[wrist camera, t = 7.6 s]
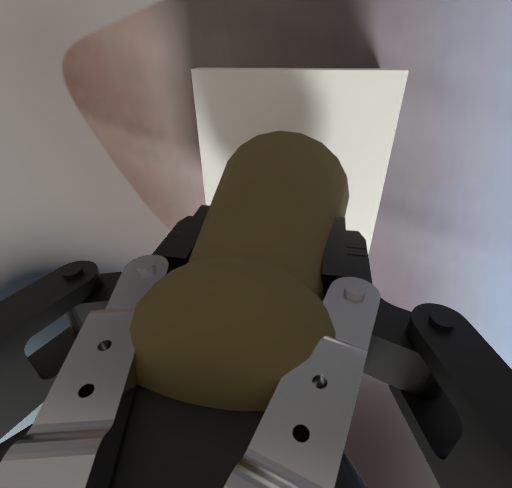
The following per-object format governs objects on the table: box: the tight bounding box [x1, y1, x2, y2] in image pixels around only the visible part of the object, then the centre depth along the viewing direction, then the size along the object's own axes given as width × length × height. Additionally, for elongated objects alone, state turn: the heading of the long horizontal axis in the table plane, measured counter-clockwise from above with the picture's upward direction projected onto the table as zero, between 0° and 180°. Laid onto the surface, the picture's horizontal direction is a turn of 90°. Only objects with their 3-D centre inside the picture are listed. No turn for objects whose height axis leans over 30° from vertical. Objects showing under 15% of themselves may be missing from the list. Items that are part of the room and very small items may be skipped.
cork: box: [129, 131, 349, 412], centre depth 11 cm, size 6×6×11 cm
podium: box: [191, 68, 409, 254], centre depth 20 cm, size 10×10×5 cm
